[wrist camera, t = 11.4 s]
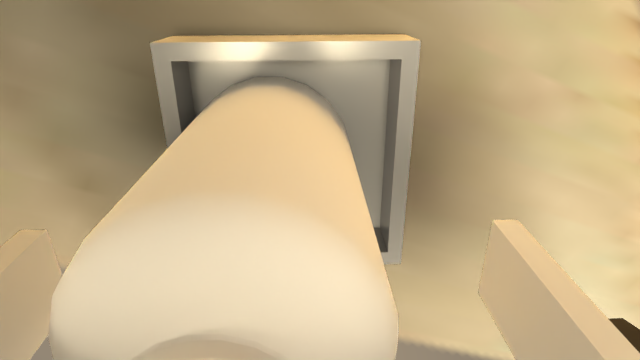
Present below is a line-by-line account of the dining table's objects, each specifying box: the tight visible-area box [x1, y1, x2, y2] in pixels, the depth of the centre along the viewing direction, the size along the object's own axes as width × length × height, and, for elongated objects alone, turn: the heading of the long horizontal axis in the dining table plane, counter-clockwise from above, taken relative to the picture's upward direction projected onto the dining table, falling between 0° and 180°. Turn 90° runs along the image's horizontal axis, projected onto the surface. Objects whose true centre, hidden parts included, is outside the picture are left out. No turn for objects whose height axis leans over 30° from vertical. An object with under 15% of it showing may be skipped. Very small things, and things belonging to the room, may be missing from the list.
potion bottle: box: [48, 77, 399, 360], centre depth 15 cm, size 8×8×18 cm
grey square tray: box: [150, 34, 421, 264], centre depth 22 cm, size 12×12×4 cm
